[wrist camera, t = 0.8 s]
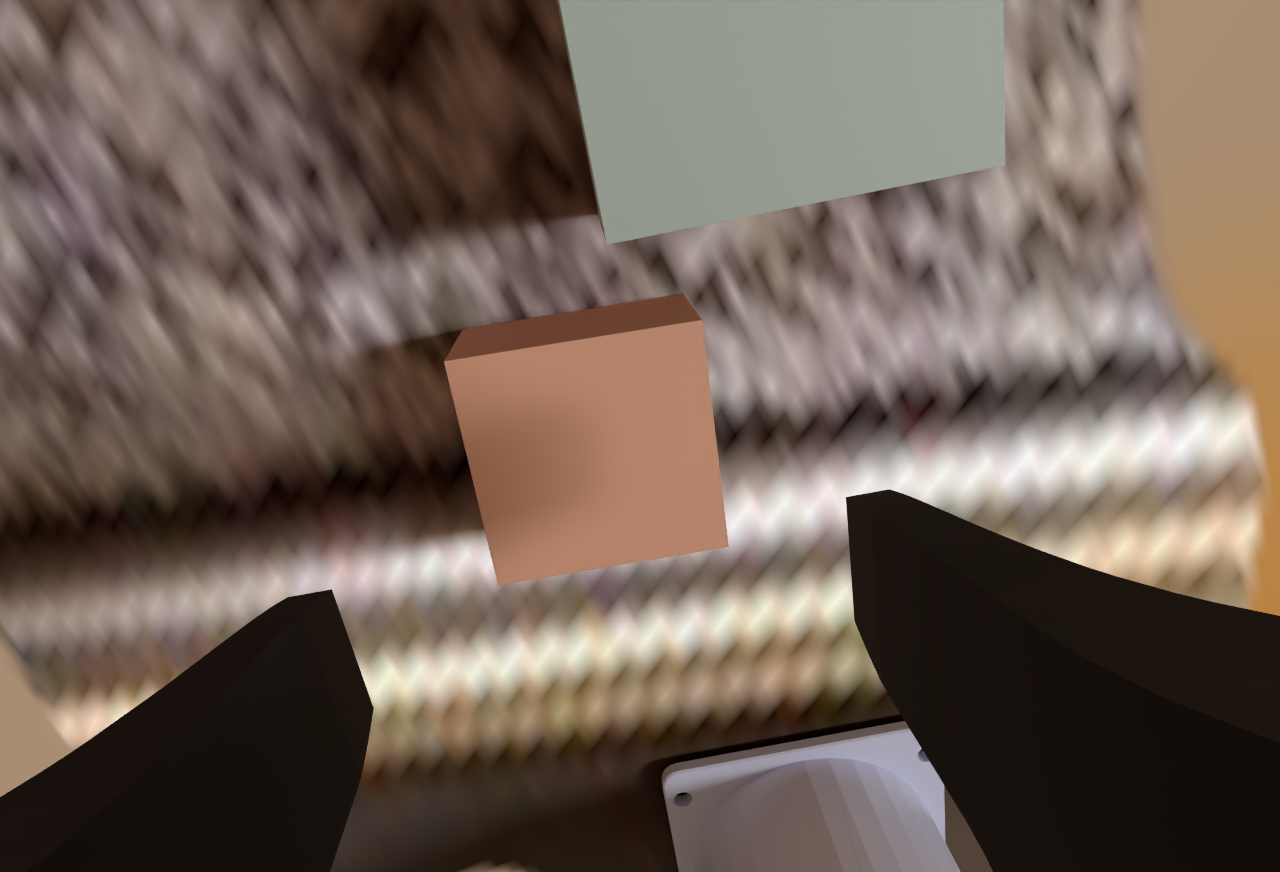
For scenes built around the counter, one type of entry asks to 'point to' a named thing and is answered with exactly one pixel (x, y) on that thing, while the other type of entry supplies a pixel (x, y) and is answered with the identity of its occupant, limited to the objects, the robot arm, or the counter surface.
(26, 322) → the counter surface
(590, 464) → the terracotta block
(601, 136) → the middle block
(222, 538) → the counter surface
